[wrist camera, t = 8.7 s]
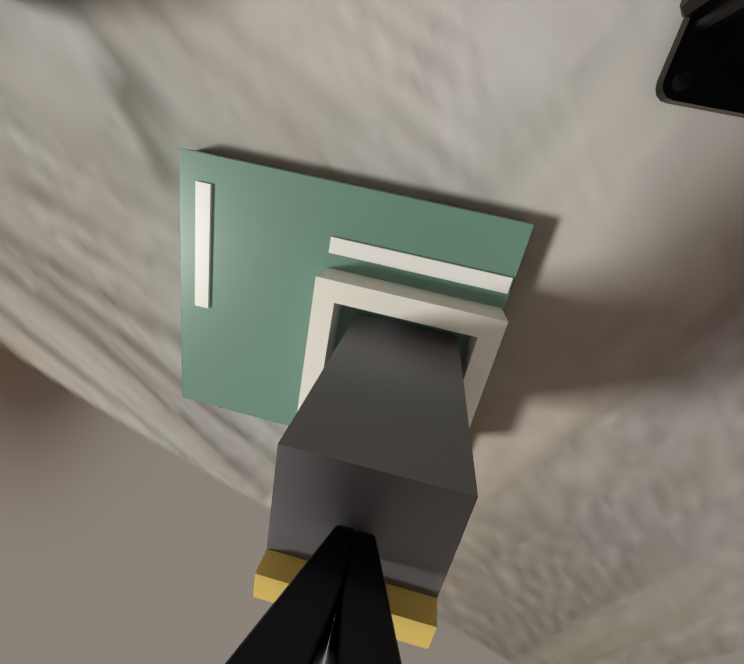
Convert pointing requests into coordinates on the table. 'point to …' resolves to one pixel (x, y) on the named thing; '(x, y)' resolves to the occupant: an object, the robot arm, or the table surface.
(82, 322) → the table surface
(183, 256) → the header board
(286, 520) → the plug
